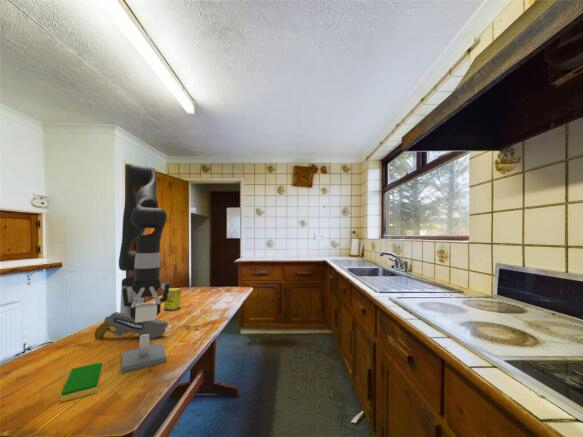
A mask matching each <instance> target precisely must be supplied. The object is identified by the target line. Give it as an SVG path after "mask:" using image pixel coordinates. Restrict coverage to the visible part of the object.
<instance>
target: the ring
mask: <svg viewBox="0 0 583 437" xmlns="http://www.w3.org/2000/svg"><path fill="white" fill-rule="evenodd" d="M135 307H136V310H135V323H137V322H143V321H149V320H155V319H157V317H158V315H157V304H156V301H152V302H150V301H149V302H144V303H141V304H136V305H135ZM157 320H158V319H157Z"/></svg>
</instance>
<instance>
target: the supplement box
mask: <svg viewBox="0 0 583 437" xmlns="http://www.w3.org/2000/svg"><path fill="white" fill-rule="evenodd" d="M181 292H182V288H177V287H169V291H168V296H167V301H165V302H163V304H164V305H163V311H168V312H169V311H170V312H175V311H177V310H179V309H180V308H181Z"/></svg>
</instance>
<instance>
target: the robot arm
mask: <svg viewBox="0 0 583 437" xmlns="http://www.w3.org/2000/svg"><path fill="white" fill-rule="evenodd" d="M157 176H158V175H157V171H156V168H155V167H153V166H149V165H144V164H138V163H128V164H127V166H126V169H125V190H124V191H125V196H124V197H125V198H124V199H125V200H124V206H123V207H124V208H123V215H122V216H123V217H122V229H121V230H122V232H121V234H122V236H121V245H120V249H119V250H120V251H119V258H118V268H119V270H120V271H123V272H125V271H126V272H127V271H128V272H129V271H134V272H133V274H132V275H130V276H127V277H124V278H123V279H122V280H121V288H120V308H119V310H120V311H119V313H124V314H129V315H130V316H131V318H133V319H135V310H136V307H135V305H136V304H141V303H145V302H144V300H145V298H146V297H150V298H151V297H153V298H154V302H156V304H157V316H158V315H159V314H160V313H161V309H162V306H161V304H163V303H164V302H165V301H167V296H168V291H169V289H170V284H169V283H168V282H166V283H161V281H160V280H161V279H160V275H161V272H160V271H161V270H160V269H161V254H160V253H161V239H162V234H163V230H164V228H165V225H166V223H167V218H168V215H167V212H166V211H165V209H164V208H161V207H160V208H159V201H158V196H157V189H158V188H157V186H158V184H157V183H158V182H157V181H158V180H157V179H158V178H157ZM135 187H140V188H139V189H138V191H137V192H136V191H135ZM146 229H154V230H153V231H152V232H150V233H148V234H143V233H144V232H145V230H146ZM142 234H143V235H142ZM135 242H136V245H135V247H136V249H135V250H130V249H131V247H132V245H133V244H134V243H135ZM160 288H161V289H162V291H163V293H162V297H159V296H158V293H157V291H158V290H159V289H160Z"/></svg>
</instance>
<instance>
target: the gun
mask: <svg viewBox="0 0 583 437" xmlns="http://www.w3.org/2000/svg"><path fill="white" fill-rule="evenodd" d="M168 324H169V323H168V322H167V321H166V320H162V319H155V320H149V321H143V322H137V323H135V319H133V318H131V316H130V315H129V314H124V313H120V312H116V311H115V312H113V313H111V314H110V315H108V316H106V317H104V322H103V323H101V324H99V326H97V328H96V330H95V331H94V333H93V336H94V338H95V340H98V341H99V340H101V339H103V338H104V336H105V335H106V333H108V332H109V333H112V334H114V335H117V336H120V337H121V336H123V335H124V334H125V335H126V334H127V333H129V332H130V333H134V334H138V335H140V336H141V335H144V334H149V335H150V336H149V339H156V338H159V337H160V336H161V335H164V334H165V332H166V328H167V327H168ZM111 327H112V328H115V331H114V330H112V329H111Z"/></svg>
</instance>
